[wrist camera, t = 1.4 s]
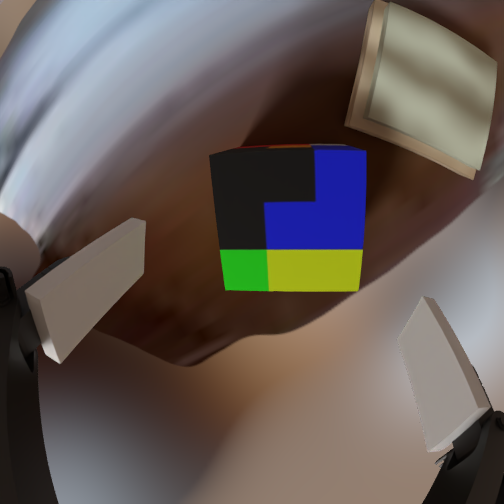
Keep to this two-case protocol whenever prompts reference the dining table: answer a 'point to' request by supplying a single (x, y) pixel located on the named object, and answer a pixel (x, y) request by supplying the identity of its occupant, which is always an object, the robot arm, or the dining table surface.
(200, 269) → the dining table surface
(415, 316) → the robot arm
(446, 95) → the plinth
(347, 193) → the puzzle toy
